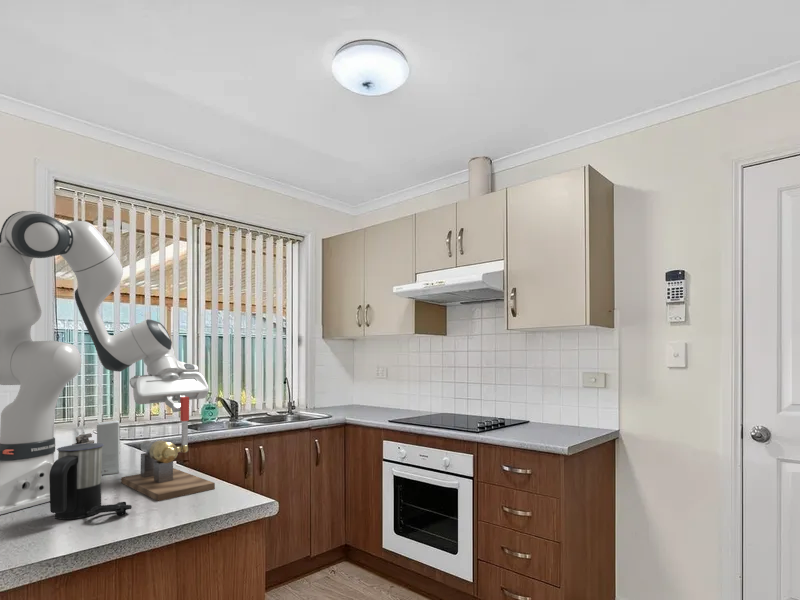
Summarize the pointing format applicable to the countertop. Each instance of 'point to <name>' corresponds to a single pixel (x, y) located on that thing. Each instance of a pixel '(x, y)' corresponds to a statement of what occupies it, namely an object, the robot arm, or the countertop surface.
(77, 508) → the milk frother
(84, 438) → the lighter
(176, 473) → the valve rig
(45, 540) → the countertop surface
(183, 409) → the valve lever
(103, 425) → the skincare box
